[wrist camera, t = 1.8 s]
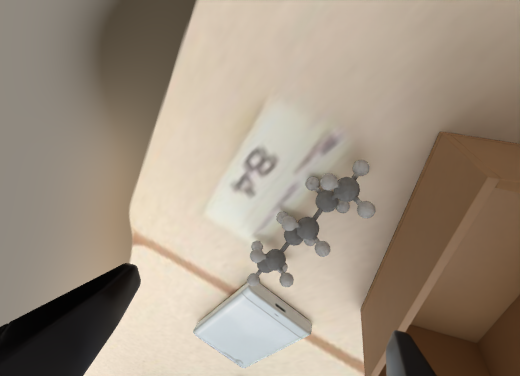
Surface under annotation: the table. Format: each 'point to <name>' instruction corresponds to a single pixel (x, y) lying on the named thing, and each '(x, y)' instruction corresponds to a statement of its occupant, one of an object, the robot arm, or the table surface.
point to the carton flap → (509, 185)
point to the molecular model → (312, 222)
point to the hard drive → (252, 325)
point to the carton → (453, 265)
